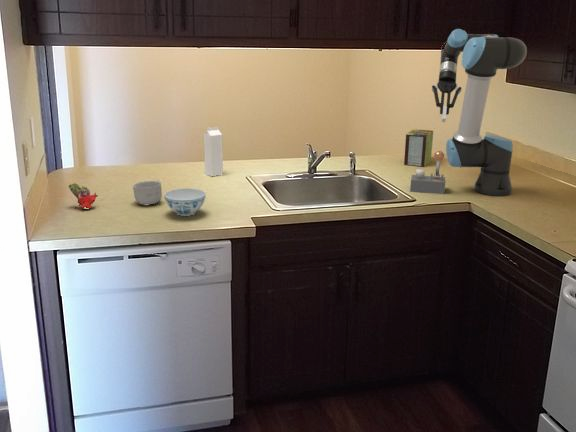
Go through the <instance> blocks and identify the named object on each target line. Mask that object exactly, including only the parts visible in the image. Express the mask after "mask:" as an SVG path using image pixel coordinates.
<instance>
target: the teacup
mask: <svg viewBox="0 0 576 432" xmlns="http://www.w3.org/2000/svg"><path fill="white" fill-rule="evenodd" d="M132 189H133V196H134V199H135V201H136V202H137V203H138V204H140V205H141V204H154V205H156V204H158V203H159V202H160V200H161V199H162V197H163V196H162V195H163V192H162V182H160V181H159V179H155V180H142V181H139V182H136V183H133V185H132ZM157 202H158V203H157ZM155 203H156V204H155Z"/></svg>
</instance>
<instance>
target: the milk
mask: <svg viewBox="0 0 576 432" xmlns="http://www.w3.org/2000/svg"><path fill="white" fill-rule="evenodd" d="M206 128H207V129H206V131H205V132H204V134H203V144H204V145H203V146H204V175H205V174H207V175H206V176H208V175H210V176H209V177H211V176H215V177H217V176H216V175H221V174H223V175H224V168H223V167H224V164H223V163H224V162H223V161H224V159H223V158H224V157H223V134H222V132H221V131H220V129H219V126H210V127H206ZM221 176H222V175H221Z"/></svg>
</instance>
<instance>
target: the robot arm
mask: <svg viewBox="0 0 576 432" xmlns="http://www.w3.org/2000/svg"><path fill="white" fill-rule="evenodd" d="M446 42H447V43H446ZM446 42H445V43H446V45H445V47H444V49H443V50H442V49H441V50H440V62H439V72H438V73H439V74H438V81H437V83H436V85H431V91H432V92H433V95H434V102H435V106H436V107H437V108H439V115H441V123H446V119H447V115H449V114H450V109H453V108H454V106H455V103H456V101H457V99H458V96H459V94H460V93H461V91H462V87H461V86H458V84H457V73H458V60H459V56H460V55H461V58H462V59H461V66H462V68H463V69H464V72H465V74H466V75H467V78H466V85H465V91H464V96H463V101H462V105H461V106H462V107H461V111H460V112H461V113H460V117H459V122H458V128H457V131H455V132H454V133H453V135H452V138H448V139H447V141H446V144H445V145H446V146H445V147H446V148H445V150H446V151H445V152H446V158H447V162H448V164H449V165H450V166H451V167H453V168H480V172H479V174H478V177H477V178H476V180H475V182H474V187H473V190H474V192H476V193H478V194H482V195H487V196H494V197H504V196H509V195H511V194H512V189H513V187H512V186H513V185H512V181H511V177H510V169H511V163H512V157H513V152H514V151H513V146H514V143H513V141H512V139H509V138H506V137H504V136H503V137H502V136H498V135H491V134H485V135H484V137H482V135H481V134H480V133H481V127H482V122H483V118H484V113H485V108H486V104H487V98H488V94H489V89H490V83H491V81H492V78H494V77H496V75H497V71H498V70H509V69H512V68H515V67H517V66H519V65H521V64H522V63H523V62H524V60H525V59H526V56H527V53H528V52H527V51H528V49H527V48H528V47H527V46H526V44H525V43H524V41H523V40H522V39H519V38H515V37H509V36H508V37H500V36H499V35H498V34H493V33H487V34H486V33H485V34H484V33H483V34H476V33H474V34H473V33H467V32H466V30H463V29H461V28H455V29H454V30H452V31H451V33H450V34H449V36H448V37H447V40H446ZM461 53H462V54H461ZM438 90H439V91H440V93H441V97H440V98H439V93H438ZM453 91H455V93H454V95H453V98H452V100H451V94H452V93H453ZM445 94H447V96H446V98H447V99H446V105H445Z"/></svg>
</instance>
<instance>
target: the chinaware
mask: <svg viewBox="0 0 576 432" xmlns="http://www.w3.org/2000/svg"><path fill="white" fill-rule="evenodd" d="M206 193H207V192H205V190H203V189H199V188H189V187H188V188H186V187H185V188H175V189H171V190H168V191H166V192H165V193H164V195H163V196H164V200H165V202H166V204H167V206H168V208H169V209H170V210H172V211H173V212H174V213H176V215H177V214H178V215H181V216H189V217H191V216H190V215H193V216H194V215H196V212H197V211H198V210H199V209H201V208H202V206H203V205H204V203H205V199H206ZM178 215H177V216H178ZM181 216H180V217H181Z"/></svg>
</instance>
